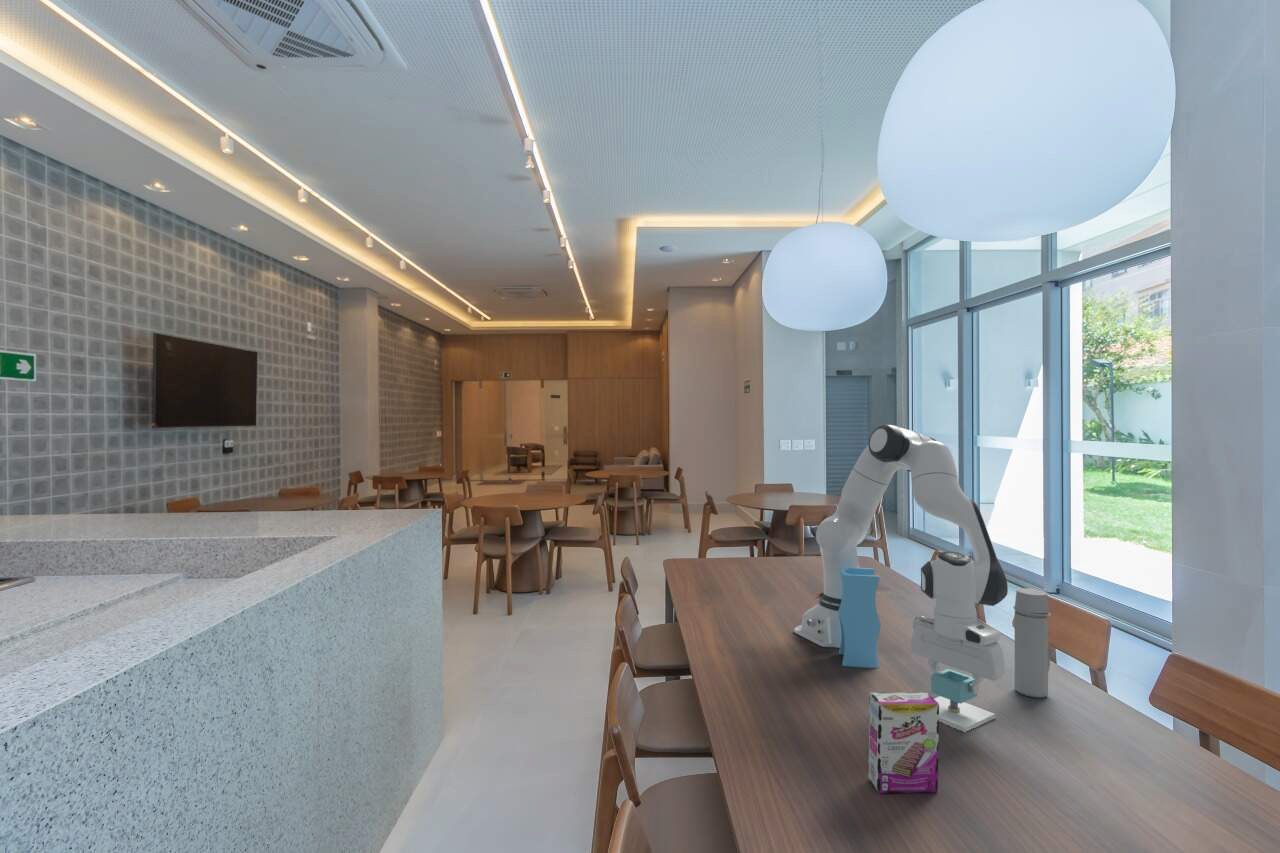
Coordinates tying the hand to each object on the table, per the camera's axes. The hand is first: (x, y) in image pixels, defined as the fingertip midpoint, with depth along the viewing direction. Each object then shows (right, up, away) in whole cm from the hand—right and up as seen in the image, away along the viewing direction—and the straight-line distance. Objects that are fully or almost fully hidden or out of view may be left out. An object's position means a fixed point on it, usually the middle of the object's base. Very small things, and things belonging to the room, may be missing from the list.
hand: (955, 685), depth 141 cm
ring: (0, -2, 0) cm, 2 cm away
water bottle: (+25, -7, +12) cm, 29 cm away
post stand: (0, -7, 0) cm, 7 cm away
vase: (-11, -7, +33) cm, 35 cm away
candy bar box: (-24, -7, -28) cm, 37 cm away
